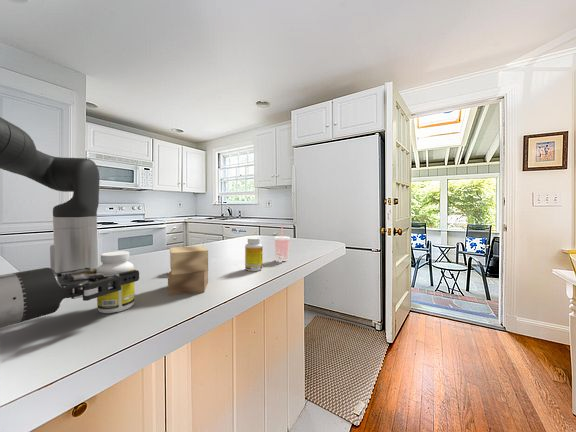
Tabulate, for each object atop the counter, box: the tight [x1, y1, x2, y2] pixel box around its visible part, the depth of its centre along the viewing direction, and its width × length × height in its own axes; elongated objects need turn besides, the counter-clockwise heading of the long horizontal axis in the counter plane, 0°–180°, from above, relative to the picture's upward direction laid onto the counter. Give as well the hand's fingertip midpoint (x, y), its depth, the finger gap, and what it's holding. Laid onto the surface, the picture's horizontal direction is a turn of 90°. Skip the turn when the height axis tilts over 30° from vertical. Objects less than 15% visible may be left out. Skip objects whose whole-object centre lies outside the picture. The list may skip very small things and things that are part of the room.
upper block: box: [169, 245, 209, 275], centre depth 62 cm, size 8×8×5 cm
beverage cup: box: [273, 223, 291, 262], centre depth 93 cm, size 6×6×14 cm
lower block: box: [167, 270, 209, 296], centre depth 62 cm, size 8×8×5 cm
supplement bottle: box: [244, 237, 264, 272], centre depth 80 cm, size 6×6×10 cm
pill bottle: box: [96, 250, 136, 314], centre depth 50 cm, size 6×6×11 cm
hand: (128, 272), depth 52 cm, fingers closed on pill bottle, 6 cm apart
